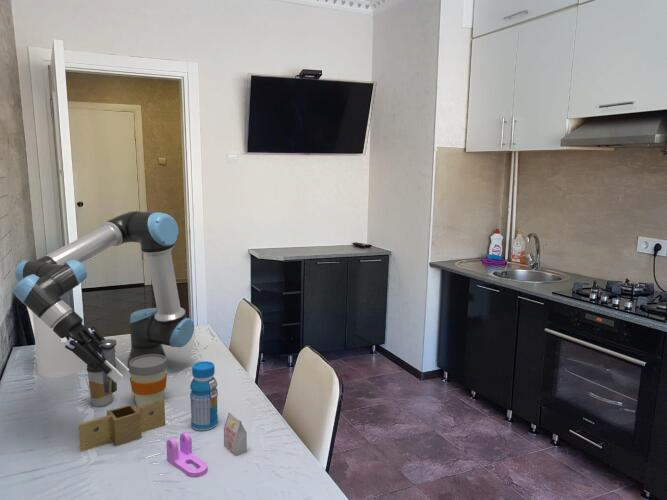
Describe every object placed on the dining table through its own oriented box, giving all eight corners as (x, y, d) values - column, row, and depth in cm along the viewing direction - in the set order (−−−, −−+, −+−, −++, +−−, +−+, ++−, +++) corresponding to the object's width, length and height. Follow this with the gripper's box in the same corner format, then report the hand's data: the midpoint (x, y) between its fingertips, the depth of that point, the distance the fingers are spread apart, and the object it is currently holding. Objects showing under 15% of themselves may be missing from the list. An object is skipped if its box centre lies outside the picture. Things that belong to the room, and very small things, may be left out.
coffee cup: (120, 399, 173) (118, 358, 170) (102, 410, 165) (100, 367, 163) (101, 395, 175) (99, 355, 173) (83, 406, 168) (80, 363, 165)
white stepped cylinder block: (37, 381, 186) (31, 308, 182) (37, 365, 201) (32, 298, 196) (88, 372, 195) (84, 303, 190) (85, 357, 210) (81, 293, 205)
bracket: (167, 461, 138) (166, 437, 137) (184, 452, 142) (183, 430, 141) (194, 480, 129) (193, 456, 128) (211, 471, 134) (211, 447, 133)
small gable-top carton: (235, 441, 148) (234, 410, 146) (246, 451, 143) (246, 419, 141) (224, 445, 146) (223, 414, 144) (235, 456, 141) (235, 423, 139)
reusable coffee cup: (176, 398, 175) (175, 357, 172) (149, 413, 164) (147, 370, 161) (149, 391, 180) (148, 351, 178) (121, 405, 169) (119, 363, 166)
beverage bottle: (194, 434, 152) (192, 372, 148) (188, 421, 159) (186, 362, 156) (221, 428, 155) (220, 367, 152) (214, 416, 163) (213, 358, 160)
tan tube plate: (160, 419, 160) (159, 396, 158) (169, 428, 154) (168, 404, 153) (77, 445, 144) (75, 419, 143) (84, 456, 139) (82, 430, 137)
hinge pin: (116, 385, 149) (113, 338, 147) (120, 391, 145) (118, 342, 143) (99, 389, 146) (97, 341, 144) (104, 395, 143) (101, 346, 140)
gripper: (70, 319, 151) (126, 372, 154) (36, 338, 135) (100, 397, 137) (86, 303, 150) (142, 356, 153) (54, 320, 134) (118, 379, 136)
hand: (122, 375), depth 145 cm, fingers closed on hinge pin, 3 cm apart
